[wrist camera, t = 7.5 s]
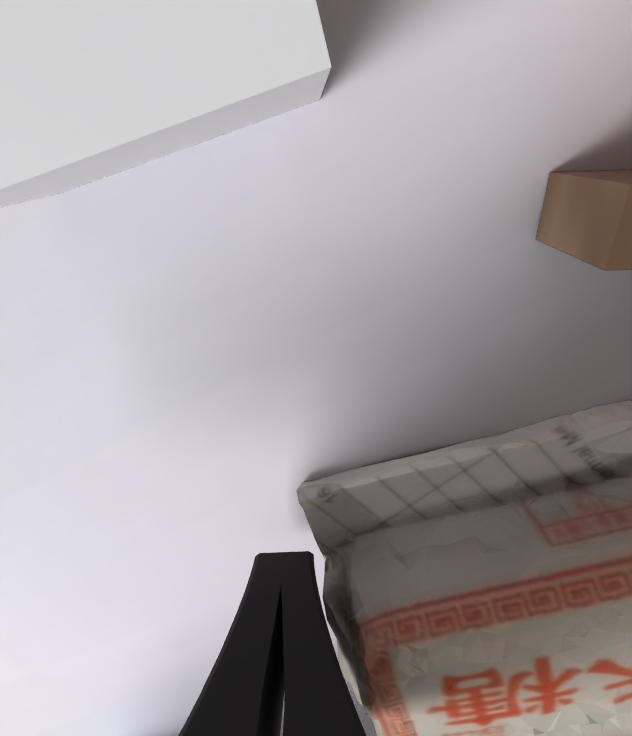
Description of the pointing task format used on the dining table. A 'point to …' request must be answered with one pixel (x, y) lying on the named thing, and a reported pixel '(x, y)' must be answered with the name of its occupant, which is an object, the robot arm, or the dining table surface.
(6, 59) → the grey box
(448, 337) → the dining table surface
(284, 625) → the robot arm
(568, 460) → the packaged product
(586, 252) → the open wooden frame
